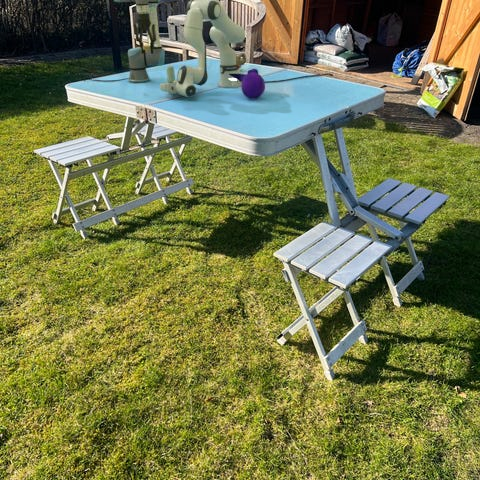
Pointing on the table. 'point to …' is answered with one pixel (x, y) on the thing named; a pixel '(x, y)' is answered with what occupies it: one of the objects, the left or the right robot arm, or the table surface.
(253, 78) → the toy
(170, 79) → the jar
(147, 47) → the lid
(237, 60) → the beige patterned figurine
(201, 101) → the table surface
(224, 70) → the right robot arm
